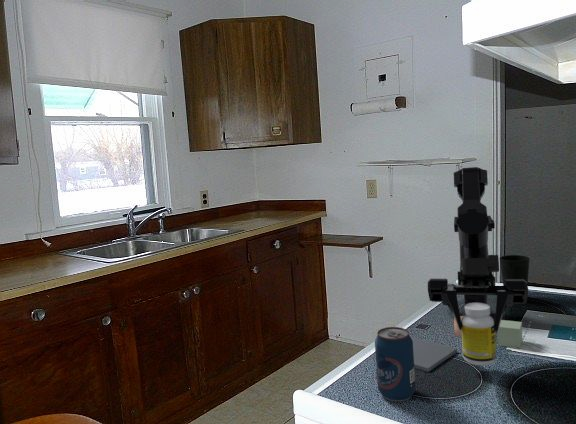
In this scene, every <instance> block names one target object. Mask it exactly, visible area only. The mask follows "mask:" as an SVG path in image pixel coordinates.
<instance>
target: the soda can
mask: <svg viewBox="0 0 576 424" xmlns="http://www.w3.org/2000/svg"><path fill="white" fill-rule="evenodd" d="M376 334H377V336H376V338H375V340H374V351H375V353H374V354H375V364H376V378H377V379H376V381H377V389H378V391H379V392H380V394H381V396H382V397H383V398H384V399H386V400H388V401H391V402H405V401H408V400H409V399H411V398H412V397H413V395H414V393H415V392H416V386H417V385H416V372H415V369H416V368H414V353H413V341H412V339H411V337H412V336H411V335H410V332H409V330H408V329H405V328H403V327H398V326H389V327H382V328H380V329H378V331H377V332H376Z"/></svg>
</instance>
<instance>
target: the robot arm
mask: <svg viewBox="0 0 576 424" xmlns="http://www.w3.org/2000/svg"><path fill="white" fill-rule="evenodd" d="M488 184H489V182H488V170H487V169H482V168H481V167H479V166H473V167H462V168H460V169H458V170H457V171H454V172H453V186H454V188H456V191H457V196H458V197H459V199H460V200H461V201H462V203H461V204H460V205H459V206H457V216H454V219H453V231H454V233H457V234H458V242H459V262H460V263H459V271H457V284H454V283H449V282H448V278H430V279H429V280H427V293H428V299H429V301H430V302H432V303H433V302H434V303H436V302H437V303H438V302H439V303H442V305H443V306H447V307H448V308H449V311H450V313H452V316H453V317H454V318H455V320H456V323H457V325H458V328H459V330H462V328H461V317H460V316H464V315H466V314H465V310H463V311H462V312H460V308H459V303H458V302H459V301H458V296H459V295H460V296H461V295H462V296H464V298H463V299H464V300H463V301H464V303H463V304H464V306H465V305H466V304H468V303H474V302H477V303H485V304H487V305H489V304H488V302H489V301H488V296H496V304H495V305H496V307H495V318H494V321H495V333H497V332H498V329H499V326H500V322H501V320H503V315H505V312H506V310H507V308H511V307H513V306H514V304H515V305H524V304H527V302H528V295H529V286H528V284H527V282H526V281H525V280H524V279H505V286H503V285H496V277H495V276H494V274H493V273H499V271H500V258H499V254H489V246H488V241H489V232H492V231H493V229H495V227H496V226H495V223H496V222H495V221H494V220H493V218H492V217H491V215H488V209H487V206H486V205H485V204H483V203H482V202H481V200H482V198H483V197H484V195H485V193H486V192H485V191H486V187H487V186H489V185H488ZM493 314H494V311H492V310H490V316H492V315H493ZM454 318H453V319H454Z"/></svg>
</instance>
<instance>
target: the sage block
mask: <svg viewBox="0 0 576 424" xmlns="http://www.w3.org/2000/svg"><path fill="white" fill-rule="evenodd" d="M496 333H497V335H496V336H497V346H499V347H506V348H512V347H519V348H518V349H521V347H520V346H522V344H521V343H523V322H522V321H515V320H505V319H501V322H500V326H499V329H498V332H496Z"/></svg>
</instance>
